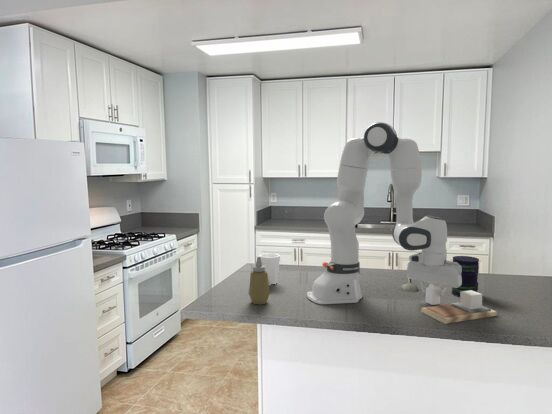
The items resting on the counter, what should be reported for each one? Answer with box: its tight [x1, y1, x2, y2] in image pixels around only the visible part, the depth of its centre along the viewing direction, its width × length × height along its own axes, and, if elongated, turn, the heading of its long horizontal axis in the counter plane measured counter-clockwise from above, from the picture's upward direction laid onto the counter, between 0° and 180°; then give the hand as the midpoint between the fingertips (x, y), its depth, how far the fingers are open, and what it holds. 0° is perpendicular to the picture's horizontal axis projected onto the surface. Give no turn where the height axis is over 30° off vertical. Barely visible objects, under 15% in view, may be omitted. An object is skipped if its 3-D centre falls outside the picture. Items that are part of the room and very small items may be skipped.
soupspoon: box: [401, 275, 419, 293], centre depth 178 cm, size 22×3×7 cm
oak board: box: [420, 301, 497, 325], centre depth 142 cm, size 22×12×2 cm, turn 109°
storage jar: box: [451, 255, 480, 298], centre depth 164 cm, size 10×10×15 cm
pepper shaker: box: [425, 282, 441, 306], centre depth 153 cm, size 4×4×10 cm
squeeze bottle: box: [248, 256, 271, 305], centre depth 155 cm, size 8×8×18 cm
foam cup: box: [258, 252, 281, 285], centre depth 182 cm, size 10×9×13 cm
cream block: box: [459, 290, 483, 309], centre depth 143 cm, size 5×5×5 cm
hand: (432, 294), depth 153 cm, fingers closed on pepper shaker, 5 cm apart
